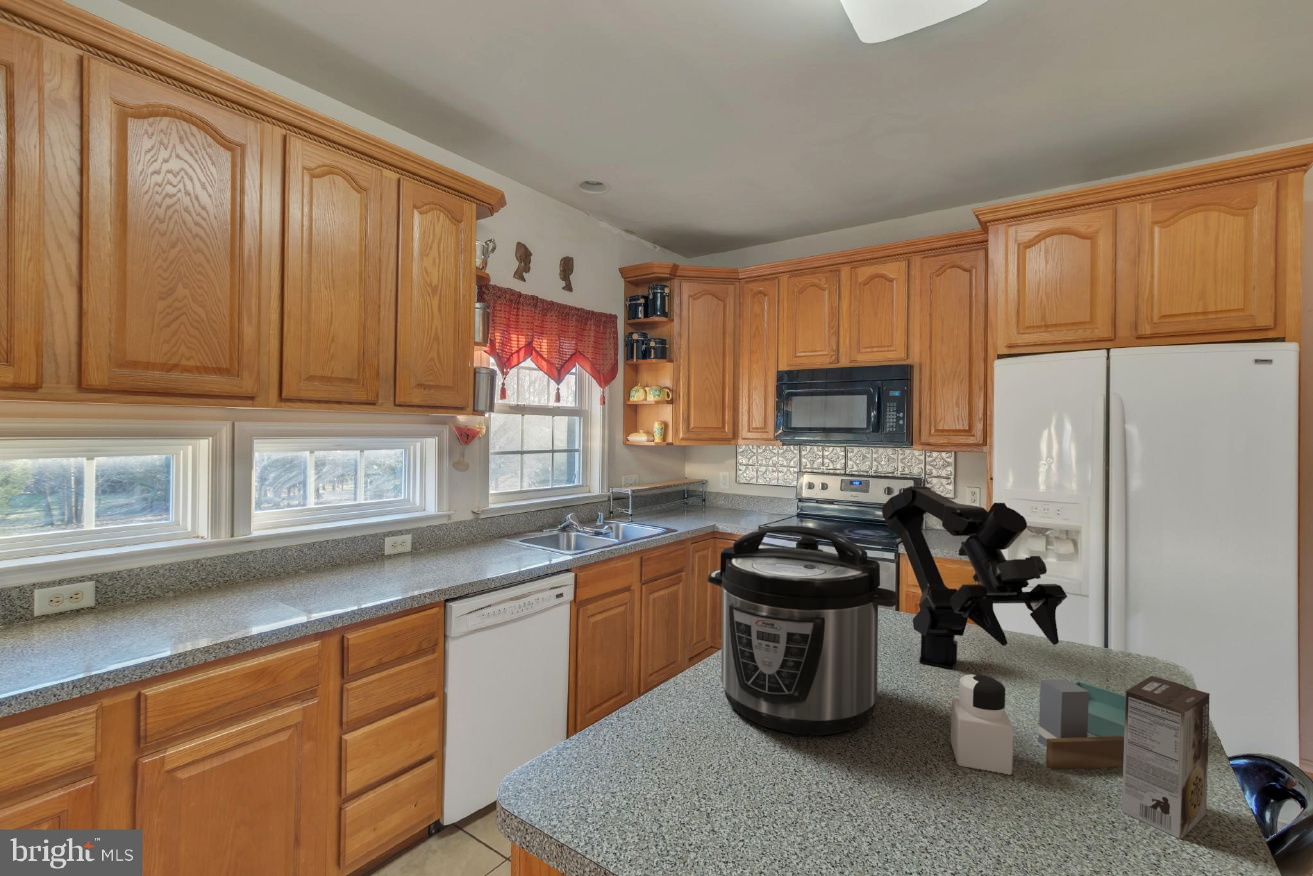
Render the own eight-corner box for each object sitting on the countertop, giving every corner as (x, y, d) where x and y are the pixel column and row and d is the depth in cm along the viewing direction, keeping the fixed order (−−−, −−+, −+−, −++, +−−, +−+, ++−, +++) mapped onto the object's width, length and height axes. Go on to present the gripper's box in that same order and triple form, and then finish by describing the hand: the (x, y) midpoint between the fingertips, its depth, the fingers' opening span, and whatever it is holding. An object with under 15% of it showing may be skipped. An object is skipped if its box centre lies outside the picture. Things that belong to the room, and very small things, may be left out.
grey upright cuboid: (1038, 741, 95) (1040, 679, 94) (1064, 741, 95) (1066, 679, 95) (1059, 757, 90) (1062, 692, 90) (1087, 756, 90) (1089, 691, 90)
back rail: (1046, 765, 88) (1046, 738, 88) (1120, 762, 89) (1121, 736, 89) (1051, 769, 87) (1052, 742, 87) (1126, 766, 88) (1127, 739, 88)
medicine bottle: (1001, 751, 92) (1003, 674, 91) (1012, 776, 85) (1015, 693, 85) (950, 742, 94) (952, 666, 94) (957, 766, 87) (959, 685, 87)
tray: (1041, 714, 104) (1042, 696, 104) (1075, 695, 111) (1075, 679, 111) (1137, 750, 93) (1138, 730, 92) (1167, 726, 100) (1167, 708, 100)
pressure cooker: (681, 686, 112) (685, 519, 112) (794, 660, 126) (798, 511, 125) (790, 767, 86) (796, 549, 85) (918, 722, 100) (923, 535, 99)
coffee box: (1146, 789, 82) (1150, 674, 82) (1208, 816, 77) (1212, 692, 77) (1118, 811, 77) (1123, 688, 77) (1182, 841, 72) (1187, 709, 72)
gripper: (961, 539, 104) (1003, 622, 93) (1060, 539, 106) (1112, 620, 95) (935, 573, 112) (970, 653, 101) (1027, 572, 114) (1071, 651, 103)
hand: (1030, 644), depth 100 cm, fingers open, 9 cm apart
